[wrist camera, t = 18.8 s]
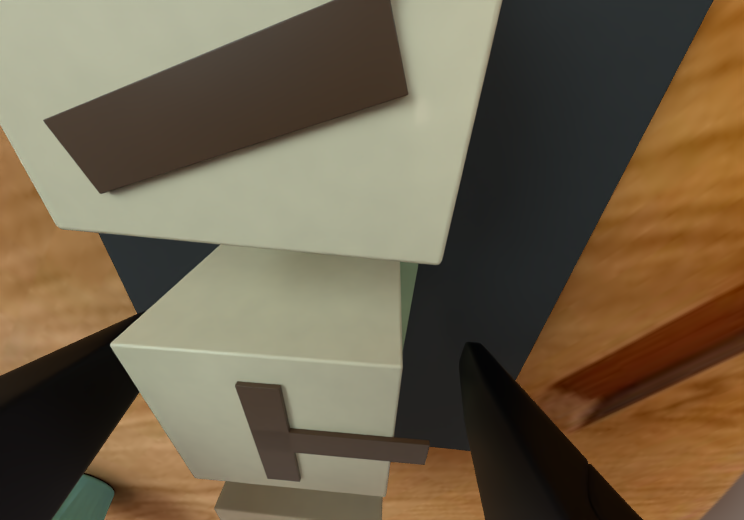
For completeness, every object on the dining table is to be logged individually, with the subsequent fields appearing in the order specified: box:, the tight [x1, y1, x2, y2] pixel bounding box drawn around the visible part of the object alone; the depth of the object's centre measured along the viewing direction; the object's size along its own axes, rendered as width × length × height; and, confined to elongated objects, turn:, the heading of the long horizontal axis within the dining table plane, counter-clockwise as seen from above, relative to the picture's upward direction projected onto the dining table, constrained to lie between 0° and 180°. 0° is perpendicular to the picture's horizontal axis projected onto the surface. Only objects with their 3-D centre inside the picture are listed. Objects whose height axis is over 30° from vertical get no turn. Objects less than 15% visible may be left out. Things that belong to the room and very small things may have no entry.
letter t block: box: [110, 245, 430, 497], centre depth 8 cm, size 6×5×5 cm
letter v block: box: [0, 0, 502, 265], centre depth 4 cm, size 5×5×5 cm
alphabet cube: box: [214, 481, 383, 520], centre depth 12 cm, size 5×5×5 cm
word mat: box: [99, 0, 713, 451], centre depth 10 cm, size 16×20×1 cm
